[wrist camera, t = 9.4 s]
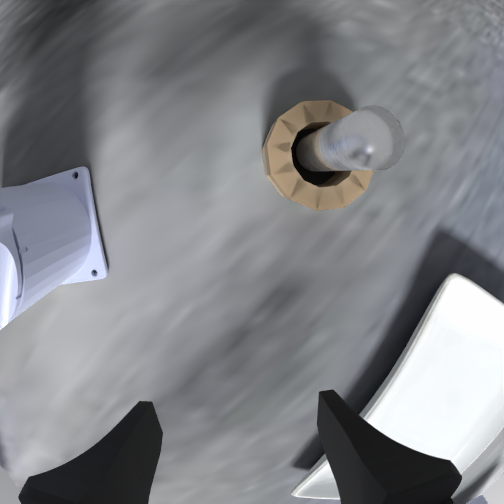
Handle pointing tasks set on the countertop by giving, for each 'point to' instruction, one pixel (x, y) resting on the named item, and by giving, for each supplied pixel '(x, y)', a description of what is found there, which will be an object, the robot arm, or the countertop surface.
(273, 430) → the countertop surface
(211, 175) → the countertop surface
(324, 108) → the wooden bead
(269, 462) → the countertop surface
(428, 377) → the square plate
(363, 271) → the countertop surface
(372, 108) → the cylindrical metal peg
